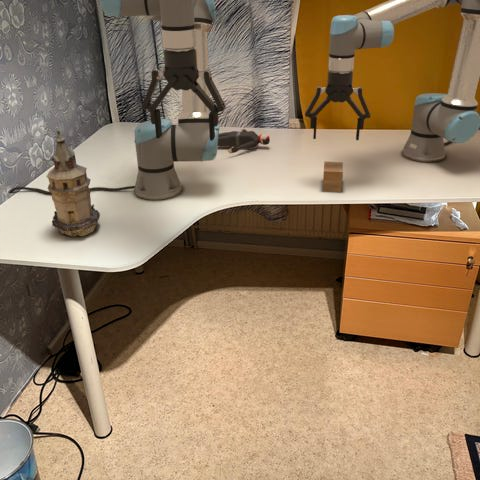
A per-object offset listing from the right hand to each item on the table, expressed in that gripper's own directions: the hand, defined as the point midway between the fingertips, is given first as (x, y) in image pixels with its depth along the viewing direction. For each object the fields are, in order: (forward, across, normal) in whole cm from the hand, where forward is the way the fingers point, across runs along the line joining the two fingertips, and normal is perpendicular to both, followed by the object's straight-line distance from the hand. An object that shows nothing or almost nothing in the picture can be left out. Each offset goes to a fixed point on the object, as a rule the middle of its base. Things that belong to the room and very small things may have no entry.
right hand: (335, 138), depth 173 cm
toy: (+16, +40, -34) cm, 54 cm away
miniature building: (+16, +73, +41) cm, 85 cm away
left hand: (-14, +38, +44) cm, 60 cm away
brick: (+16, 0, +2) cm, 16 cm away
